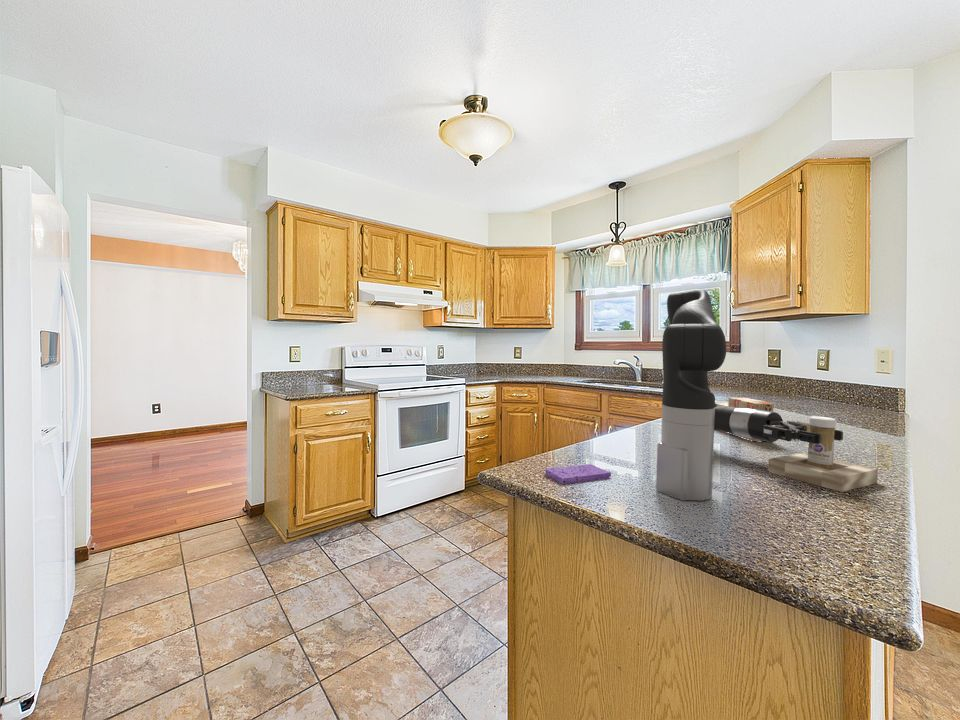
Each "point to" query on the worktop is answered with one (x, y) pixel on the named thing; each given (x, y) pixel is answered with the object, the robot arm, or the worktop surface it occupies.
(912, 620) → the worktop surface
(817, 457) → the sprinkles bottle
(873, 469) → the birch socket board
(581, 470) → the sponges
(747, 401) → the stack of blocks
